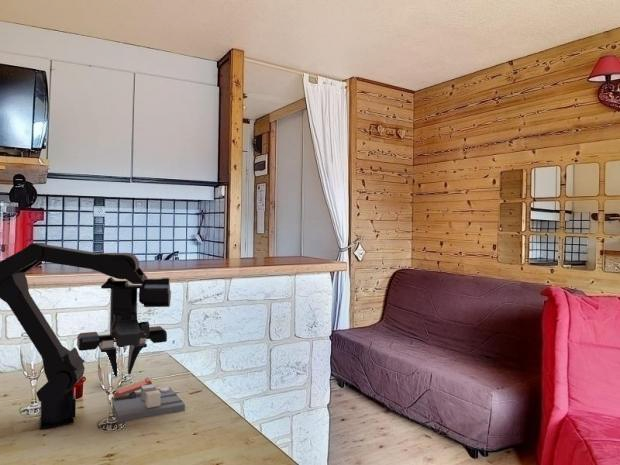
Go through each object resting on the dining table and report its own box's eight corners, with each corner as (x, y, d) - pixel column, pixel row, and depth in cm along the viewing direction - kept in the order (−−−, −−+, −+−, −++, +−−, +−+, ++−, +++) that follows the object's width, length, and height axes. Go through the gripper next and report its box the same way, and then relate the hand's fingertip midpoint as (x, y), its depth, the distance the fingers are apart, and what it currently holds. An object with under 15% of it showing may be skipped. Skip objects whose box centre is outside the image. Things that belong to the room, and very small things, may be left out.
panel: (118, 422, 104) (118, 411, 104) (109, 402, 116) (109, 391, 116) (184, 410, 112) (184, 399, 112) (169, 392, 124) (170, 382, 124)
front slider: (147, 408, 108) (147, 395, 108) (145, 404, 110) (145, 392, 110) (160, 405, 110) (160, 393, 110) (158, 402, 112) (158, 390, 112)
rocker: (115, 398, 113) (114, 393, 113) (113, 394, 115) (112, 389, 115) (152, 385, 117) (151, 380, 117) (149, 381, 120) (148, 377, 120)
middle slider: (142, 401, 113) (143, 388, 113) (140, 397, 115) (141, 385, 115) (155, 399, 114) (155, 386, 114) (153, 395, 116) (153, 384, 116)
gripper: (82, 316, 95) (80, 392, 95) (173, 310, 104) (172, 378, 104) (77, 308, 104) (76, 376, 104) (161, 303, 114) (160, 365, 114)
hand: (122, 374), depth 107 cm, fingers open, 3 cm apart
